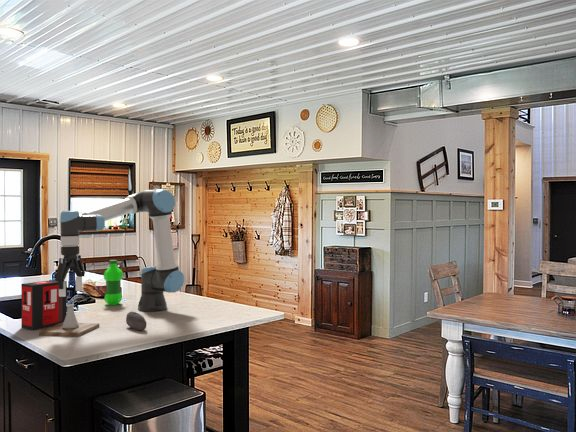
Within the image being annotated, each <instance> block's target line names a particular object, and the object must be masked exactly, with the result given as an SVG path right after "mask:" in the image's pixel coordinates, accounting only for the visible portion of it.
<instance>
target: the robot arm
mask: <svg viewBox="0 0 576 432" xmlns="http://www.w3.org/2000/svg"><path fill="white" fill-rule="evenodd" d="M175 206H176V199H175V197H174V194H173V193H172V192H170V191H169V190H167V189H161V188H159V189H144V190H142V191H139V192H136V193H132V194H130V195H128V196H126V197H125V199H122V200H118V201H115V202H112V203H108V204H104V205H102V206H98V207H95V208H91V209H88V210H86V211H83V212H79V211H78V210H62V211H61V212H60V216H59V217H60V218H59V222H60V224H59V225H60V245H61V247H60V255H61V256H63V257H60V258H59V259H58V267H57V269H56V274H55V278H54V280H55V281H56V282H59V297H65V296H66V281H67V280H66V277H67V275H68V272H69V270H70V269H71V268H72V270H73V272H74V273H75V275H76V276H75V292H83V277H85V274H86V272H85V268H84V265H83V261H82V255H80V233H81V232H99V231H103V230H104V229H105V226H106V221H110V220H113V219H115V218H119V217H122V216H125V215H128V214H132V215H134V214H136V213H137V214H138V213H145V212H146V213H148V217H149V218H150V219H151V220H152V225H153V226H152V227H153V234H154V241H155V248H156V255H157V256H156V258H157V264H158V265H156V266H146V267H145V266H144V267H143V268H141V272H140V273H141V274H140V277H141V289H140V290H141V293H140V294H141V295H140V298H139V301H138V303H137V310H138V311H142V312H157V311H163V310H166V309H168V307H167V306H168V305H167V301H166V297H165V295H164V292H165V293H169V294H170V293H174V294H175V293H177V292H179V291H180V290H181V289H182V287H183V286H184V283H185V274H184V272H182V271H181V270H180V268H179V264H178V263H177V262H176V260H175V258H176V257H175V250H174V245H173V236H172V235H173V234H172V227H171V221H170V220H171V219H170V218H171V217H172V215H173V212H172V211H173V210H174V209H175V208H174V207H175Z"/></svg>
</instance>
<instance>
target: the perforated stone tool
mask: <svg viewBox="0 0 576 432" xmlns="http://www.w3.org/2000/svg"><path fill="white" fill-rule="evenodd" d="M125 318H126V319H125V323H126V325H128V327H130V329H132V330H133V329H134V330H136V331H144V330H146V329H147V320H146V318H145V317H144V316H143V315H141V314H140V313H139V312H135V311H130V312H128V313H127V314H126V317H125Z"/></svg>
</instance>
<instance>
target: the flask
mask: <svg viewBox="0 0 576 432" xmlns="http://www.w3.org/2000/svg"><path fill="white" fill-rule="evenodd" d="M74 308H75V304H74V303H73V304H67V314H66V317H65V320H64V323H63V326H62V328H64V329H71V328H77V327H79V324H78V323H79V322H78V319H77V317H76V314H75V311H74Z"/></svg>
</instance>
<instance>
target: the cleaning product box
mask: <svg viewBox="0 0 576 432" xmlns="http://www.w3.org/2000/svg"><path fill="white" fill-rule="evenodd" d="M65 281H66V296H65V297H59V282H56V281H55V279H51V280H42V281H33V282H26V283H21V318H20V319H21V321H20V322H21V323H20V324H21V329H24V330H29V331H37V330H44V329H47V328H49V327H52V326H54V325H57V324H60V323H62V322H64V320H65V317H66V314H67V305H68V304H67V303H68V302H67V301H68V300H67V297H68V296H67V295H68V294H67V293H68V292H67V291H68V290H67V287H68V286H67V283H68V282H67V280H65Z"/></svg>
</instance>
